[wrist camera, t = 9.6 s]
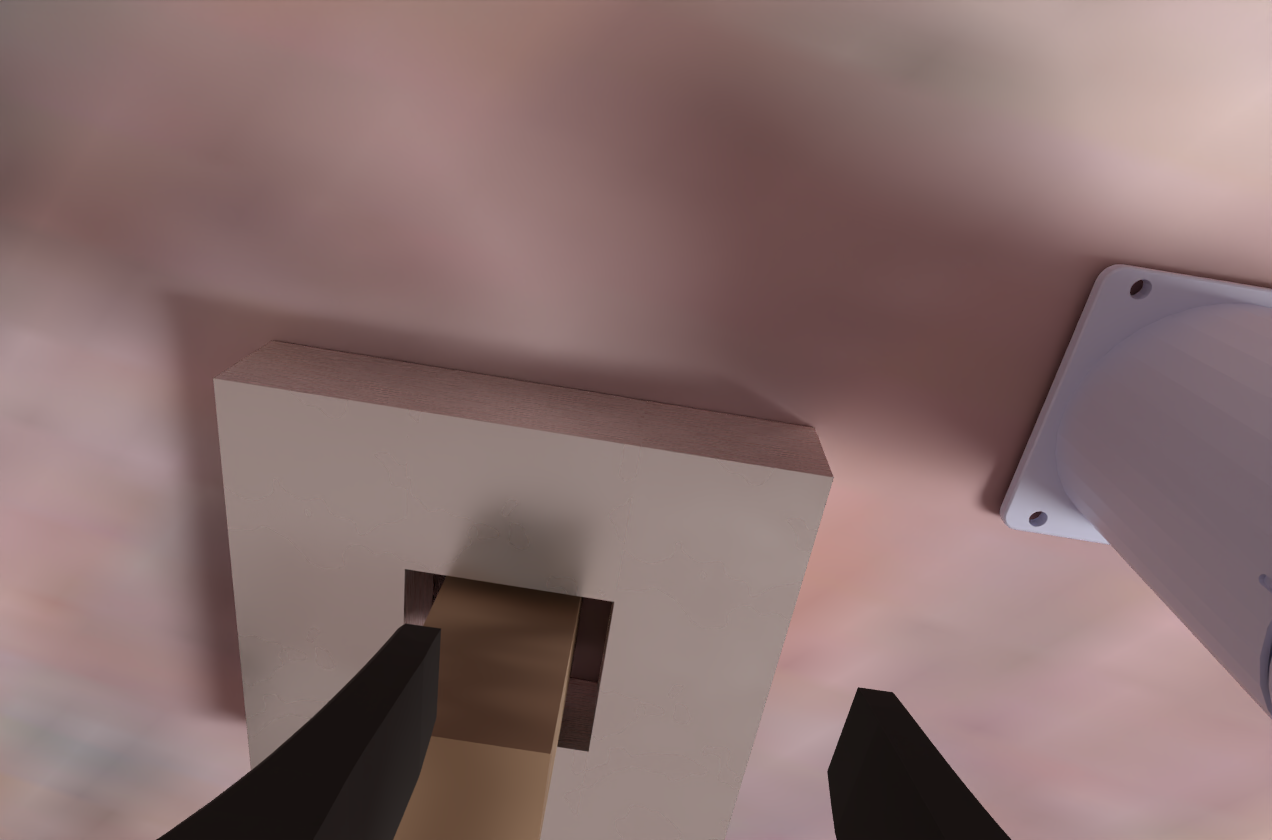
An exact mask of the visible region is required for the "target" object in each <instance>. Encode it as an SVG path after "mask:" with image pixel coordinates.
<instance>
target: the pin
mask: <svg viewBox="0 0 1272 840" xmlns="http://www.w3.org/2000/svg"><path fill="white" fill-rule="evenodd" d="M582 599H583V597H580V596H574V595H568V594H561V593H555V592H548V591H542V590H536V589H529V588H523V587H517V586H510V585H504V584H497V583H491V582H485V581H478V580H472V579H465V578H459V577H453V576H446V578H445V580H444V582H443V584H442V586H441V588H440V591H439V593H438V595H437V597H436V599H435V601H434V603H433V606H432V608H431V610H430V612H429V614H428V616H427V618H426V620H425V623H424V625H423V626H427V627H434V628H441V641H440V660H439V679H438V699H437V718H436V721H435V724H434V728H433V731H432V735H431V738H430V742H429V745H428V749H427V752H426V755H425V759H424V762H423V765H422V769H421V772H420V775H419V778H418V781H417V783H416V786H415V788H414V791H413V793H412V795H411V798H410V800H409V803H408V805H407V808H406V810H405V812H404V815H403V817H402V820H401V822H400V825H399V827H398V829H397V832H396V834H395V837H394V839H393V840H540V837H541V831H542V826H543V821H544V815H545V810H546V804H547V799H548V793H549V788H550V782H551V777H552V772H553V766H554V761H555V755H556V750H557V744H558V739H559V733H560V728H561V723H562V717H563V712H564V706H565V701H566V695H567V690H568V684H569V679H570V674H571V668H572V663H573V657H574V652H575V646H576V640H577V633H578V626H579V619H580V612H581V606H582Z"/></svg>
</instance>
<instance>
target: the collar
mask: <svg viewBox="0 0 1272 840" xmlns="http://www.w3.org/2000/svg"><path fill="white" fill-rule="evenodd" d="M213 382H214V392H215V403H216V413H217V423H218V434H219V444H220V455H221V465H222V475H223V486H224V496H225V506H226V517H227V527H228V537H229V548H230V558H231V568H232V579H233V589H234V599H235V610H236V620H237V631H238V641H239V651H240V662H241V672H242V682H243V693H244V703H245V713H246V724H247V734H248V744H249V755H250V765H251V770H252V769H253V768H255V767H256V766H257V765H258V764H259V763H261V762H262V761H263V760H264V759H266V758H267V757H268V756H269V755H270V754H272V753H273V752H274V751H275V750H276V749H277V748H278V747H279V746H281V745H282V744H283V743H284V742H285V741H286V740H287V739H288V738H290V737H291V736H292V735H293V734H294V733H295V732H296V731H298V730H299V729H300V728H301V727H302V726H303V725H304V724H305V723H307V722H308V721H309V720H310V719H311V718H312V717H313V716H314V715H315V714H316V713H317V712H318V711H320V710H321V709H322V708H323V707H324V706H325V705H326V704H327V703H328V702H329V701H330V700H331V699H332V698H333V697H334V696H335V695H336V694H337V693H338V692H339V691H340V690H341V689H342V688H343V687H344V686H345V685H346V684H347V683H348V682H349V681H350V680H351V679H352V678H353V677H354V676H355V675H356V674H357V673H358V672H359V671H360V670H361V669H362V668H363V667H364V666H365V665H366V663H367V662H368V661H369V660H370V659H371V658H372V657H373V656H374V655H375V654H376V653H377V652H378V651H379V649H380V648H381V647H382V646H383V645H384V644H385V643H386V642H387V641H388V639H389V638H390V637H391V636H392V635H393V634H394V632H395V631H396V630H397V629H398V628H399V627H401V626H402V625H404V624H405V623H406V624H413V625H420V626H423V625H424V623H425V620H426V618H427V616H428V614H429V612H430V610H431V608H432V602H433V580H434V574H440V575H446V576H453V577H459V578H465V579H472V580H478V581H485V582H491V583H497V584H504V585H510V586H517V587H523V588H529V589H536V590H542V591H548V592H555V593H561V594H568V595H574V596H580V597H587V598H593V599H599V600H606V601H612V604H611V609H610V615H609V621H608V627H607V633H606V639H605V645H604V650H603V656H602V662H601V668H600V674H599V680H598V682H593V681H587V680H580V679H574V678H570V679H569V684H568V690H567V695H566V701H565V706H564V712H563V717H562V723H561V728H560V733H559V739H558V744H557V750H556V755H555V761H554V766H553V772H552V777H551V782H550V788H549V793H548V799H547V804H546V810H545V815H544V821H543V826H542V831H541V837H540V840H724V839H725V836H726V833H727V829H728V826H729V823H730V819H731V816H732V813H733V809H734V806H735V803H736V800H737V796H738V793H739V790H740V786H741V783H742V780H743V776H744V773H745V770H746V766H747V763H748V760H749V756H750V753H751V750H752V747H753V743H754V740H755V737H756V733H757V730H758V727H759V723H760V720H761V717H762V713H763V710H764V707H765V703H766V700H767V697H768V694H769V690H770V687H771V684H772V680H773V677H774V674H775V670H776V667H777V664H778V660H779V657H780V654H781V650H782V647H783V644H784V641H785V637H786V634H787V631H788V627H789V624H790V621H791V617H792V614H793V611H794V607H795V604H796V601H797V597H798V594H799V591H800V588H801V584H802V581H803V578H804V574H805V571H806V568H807V564H808V561H809V558H810V554H811V551H812V548H813V545H814V541H815V538H816V535H817V531H818V528H819V525H820V521H821V518H822V515H823V511H824V508H825V505H826V501H827V498H828V495H829V492H830V488H831V485H832V482H833V478H834V477H833V474H832V472H831V469H830V466H829V464H828V461H827V459H826V456H825V453H824V451H823V448H822V446H821V443H820V440H819V438H818V435H817V433H816V430H815V428H813V427H807V426H801V425H794V424H788V423H782V422H776V421H770V420H763V419H757V418H751V417H745V416H738V415H732V414H726V413H720V412H714V411H707V410H701V409H695V408H689V407H682V406H676V405H670V404H664V403H658V402H651V401H645V400H639V399H633V398H626V397H620V396H614V395H608V394H601V393H595V392H589V391H583V390H577V389H570V388H564V387H558V386H552V385H545V384H539V383H533V382H527V381H521V380H514V379H508V378H502V377H496V376H489V375H483V374H477V373H471V372H465V371H458V370H452V369H446V368H440V367H433V366H427V365H421V364H415V363H409V362H402V361H396V360H390V359H384V358H377V357H371V356H365V355H359V354H352V353H346V352H340V351H334V350H328V349H321V348H315V347H309V346H303V345H296V344H290V343H284V342H278V341H271V342H269V343H267V344H266V345H264V346H263V347H261V348H260V349H258V350H257V351H255V352H253V353H252V354H250V355H249V356H247V357H246V358H244V359H243V360H241V361H239V362H238V363H236V364H235V365H233V366H232V367H230V368H228V369H227V370H225V371H224V372H222V373H221V374H219V375H218V376H216V377H214V378H213Z"/></svg>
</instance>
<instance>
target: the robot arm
mask: <svg viewBox="0 0 1272 840" xmlns="http://www.w3.org/2000/svg"><path fill="white" fill-rule="evenodd" d="M1139 280H1143V287H1142V289H1141V290H1140V291H1139V292H1138V293H1136V294H1135V295H1130V289H1131V287H1132V285H1133V284H1134V283H1135V282H1137V281H1139ZM1039 511H1042V512H1041V514H1040V516H1039V517H1037V518H1035V519H1029V517H1030V516H1031V515H1032V514H1033V513H1035V512H1039ZM1000 516H1001V519H1002V520H1003V522H1004V523H1005V524H1006V525H1007V526H1008V527H1009V528H1012V529H1015V530H1021V531H1027V532H1033V533H1040V534H1046V535H1052V536H1058V537H1065V538H1071V539H1077V540H1083V541H1090V542H1096V543H1102V544H1109V545H1111V546H1112V547H1113V548H1114V549H1115V550H1116V551H1117V552H1118V553H1119V555H1120V556H1121V557H1122V558H1123V559H1124V560H1125V561H1126V562H1127V563H1128V564H1129V565H1130V566H1131V568H1132V569H1133V570H1134V571H1135V572H1136V573H1137V574H1138V575H1139V576H1140V577H1141V578H1142V579H1143V581H1144V582H1145V583H1146V584H1147V585H1148V586H1149V587H1150V588H1151V589H1152V590H1153V591H1154V592H1155V594H1156V595H1157V596H1158V597H1159V598H1160V599H1161V600H1162V601H1163V602H1164V603H1165V604H1166V605H1167V606H1168V608H1169V609H1170V610H1171V611H1172V612H1173V613H1174V614H1175V615H1176V616H1177V617H1178V618H1179V619H1180V621H1181V622H1182V623H1183V624H1184V625H1185V626H1186V627H1187V628H1188V629H1189V630H1190V631H1191V632H1192V634H1193V635H1194V636H1195V637H1196V638H1197V639H1198V640H1199V641H1200V642H1201V643H1202V644H1203V645H1204V647H1205V648H1206V649H1207V650H1208V651H1209V652H1210V653H1211V654H1212V655H1213V656H1214V657H1215V658H1216V660H1217V661H1218V662H1219V663H1220V664H1221V665H1222V666H1223V667H1224V668H1225V669H1226V670H1227V671H1228V673H1229V674H1230V675H1231V676H1232V677H1233V678H1234V679H1235V680H1236V681H1237V682H1238V683H1239V684H1240V686H1241V687H1242V688H1243V689H1244V690H1245V691H1246V692H1247V693H1248V694H1249V695H1250V696H1251V697H1252V698H1253V700H1254V701H1255V702H1256V703H1257V704H1258V705H1259V706H1260V707H1261V708H1262V709H1263V710H1264V711H1265V713H1266V714H1267V715H1268V716H1269V717H1270V718H1271V719H1272V289H1271V288H1265V287H1259V286H1253V285H1247V284H1241V283H1235V282H1229V281H1222V280H1216V279H1210V278H1204V277H1198V276H1192V275H1186V274H1180V273H1174V272H1168V271H1162V270H1156V269H1150V268H1144V267H1137V266H1131V265H1125V264H1115V265H1112V266H1109V267H1107V268H1106V269H1105V270H1103V271H1102V272H1101V273H1100V274H1099V276H1098V277H1097V279H1096V281H1095V283H1094V286H1093V288H1092V290H1091V293H1090V295H1089V297H1088V300H1087V302H1086V305H1085V307H1084V309H1083V312H1082V314H1081V317H1080V319H1079V321H1078V324H1077V326H1076V329H1075V331H1074V333H1073V336H1072V338H1071V340H1070V343H1069V345H1068V348H1067V350H1066V352H1065V355H1064V357H1063V360H1062V362H1061V364H1060V367H1059V369H1058V371H1057V374H1056V376H1055V379H1054V381H1053V383H1052V386H1051V388H1050V391H1049V393H1048V395H1047V398H1046V400H1045V403H1044V405H1043V407H1042V410H1041V412H1040V414H1039V417H1038V419H1037V422H1036V424H1035V426H1034V429H1033V431H1032V434H1031V436H1030V438H1029V441H1028V443H1027V445H1026V448H1025V450H1024V453H1023V455H1022V457H1021V460H1020V462H1019V465H1018V467H1017V469H1016V472H1015V474H1014V477H1013V479H1012V481H1011V484H1010V486H1009V488H1008V491H1007V493H1006V496H1005V498H1004V500H1003V503H1002V505H1001V508H1000ZM440 641H441V628H434V627H427V626H420V625H413V624H406V623H405V624H404V625H402V626H401V627H399V628H398V629H397V630H396V631H395V632H394V634H393V635H392V636H391V637H390V638H389V639H388V641H387V642H386V643H385V644H384V645H383V646H382V647H381V648H380V649H379V651H378V652H377V653H376V654H375V655H374V656H373V657H372V658H371V659H370V660H369V661H368V662H367V663H366V665H365V666H364V667H363V668H362V669H361V670H360V671H359V672H358V673H357V674H356V675H355V676H354V677H353V678H352V679H351V680H350V681H349V682H348V683H347V684H346V685H345V686H344V687H343V688H342V689H341V690H340V691H339V692H338V693H337V694H336V695H335V696H334V697H333V698H332V699H331V700H330V701H329V702H328V703H327V704H326V705H325V706H324V707H323V708H322V709H321V710H320V711H318V712H317V713H316V714H315V715H314V716H313V717H312V718H311V719H310V720H309V721H308V722H307V723H305V724H304V725H303V726H302V727H301V728H300V729H299V730H298V731H296V732H295V733H294V734H293V735H292V736H291V737H290V738H288V739H287V740H286V741H285V742H284V743H283V744H282V745H281V746H279V747H278V748H277V749H276V750H275V751H274V752H273V753H272V754H270V755H269V756H268V757H267V758H266V759H264V760H263V761H262V762H261V763H259V764H258V765H257V766H256V767H255V768H253V769H252V770H251V771H250V772H248V773H247V774H246V775H245V776H243V777H242V778H241V779H240V780H238V781H237V782H236V783H235V784H233V785H232V786H231V787H229V788H228V789H227V790H225V791H224V792H223V793H221V794H220V795H219V796H218V797H216V798H215V799H214V800H212V801H211V802H210V803H208V804H207V805H205V806H204V807H203V808H201V809H200V810H198V811H197V812H195V813H194V814H193V815H191V816H190V817H188V818H187V819H186V820H184V821H183V822H181V823H180V824H179V825H177V826H176V827H174V828H173V829H171V830H170V831H169V832H167V833H166V834H164V835H163V836H161V837H160V838H158V839H157V840H393V839H394V837H395V834H396V832H397V829H398V827H399V825H400V822H401V820H402V817H403V815H404V812H405V810H406V808H407V805H408V803H409V800H410V798H411V795H412V793H413V791H414V788H415V786H416V783H417V781H418V778H419V775H420V772H421V769H422V765H423V762H424V759H425V755H426V752H427V749H428V745H429V742H430V738H431V735H432V731H433V728H434V724H435V721H436V718H437V699H438V679H439V660H440ZM827 772H828V781H829V789H830V798H831V806H832V813H833V821H834V828H835V834H836V838H837V840H1011V839H1010V838H1009V836H1008V835H1007V834H1006V833H1005V832H1004V831H1003V830H1002V829H1001V827H1000V826H999V825H998V824H997V823H996V822H995V820H994V819H993V818H992V817H991V816H990V815H989V813H988V812H987V811H986V810H985V809H984V807H983V806H982V805H981V804H980V803H979V801H978V800H977V799H976V798H975V797H974V795H973V794H972V793H971V792H970V790H969V789H968V788H967V787H966V785H965V784H964V783H963V782H962V781H961V779H960V778H959V777H958V776H957V774H956V773H955V772H954V770H953V769H952V768H951V767H950V765H949V764H948V763H947V762H946V760H945V759H944V758H943V756H942V755H941V754H940V753H939V751H938V750H937V749H936V747H935V746H934V745H933V744H932V742H931V741H930V740H929V738H928V737H927V736H926V734H925V733H924V732H923V731H922V729H921V728H920V727H919V725H918V724H917V723H916V721H915V720H914V719H913V717H912V716H911V715H910V714H909V712H908V711H907V710H906V708H905V707H904V706H903V705H902V703H901V702H900V701H899V699H898V698H897V697H896V696H895V694H894V693H893V692H887V691H880V690H873V689H866V688H858V689H857V692H856V694H855V697H854V700H853V703H852V705H851V708H850V711H849V714H848V716H847V719H846V722H845V725H844V727H843V730H842V733H841V736H840V738H839V741H838V744H837V746H836V749H835V752H834V755H833V757H832V760H831V763H830V766H829V768H828V771H827Z"/></svg>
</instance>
